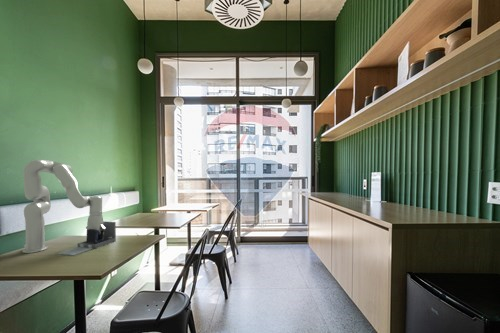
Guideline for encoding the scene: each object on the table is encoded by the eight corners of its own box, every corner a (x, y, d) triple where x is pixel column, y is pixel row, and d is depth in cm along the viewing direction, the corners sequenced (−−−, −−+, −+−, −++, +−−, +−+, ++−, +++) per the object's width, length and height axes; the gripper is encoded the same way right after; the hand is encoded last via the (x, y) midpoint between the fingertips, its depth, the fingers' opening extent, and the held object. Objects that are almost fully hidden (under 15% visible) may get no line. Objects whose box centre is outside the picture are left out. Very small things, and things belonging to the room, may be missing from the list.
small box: (95, 245, 167) (95, 230, 168) (85, 245, 168) (85, 230, 168) (104, 241, 178) (104, 226, 178) (95, 241, 178) (95, 226, 178)
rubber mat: (57, 254, 154) (57, 253, 154) (77, 247, 166) (77, 246, 166) (73, 255, 150) (73, 254, 150) (92, 249, 163) (92, 248, 163)
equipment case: (76, 247, 167) (76, 226, 167) (99, 240, 184) (99, 221, 184) (94, 248, 163) (94, 227, 163) (115, 241, 180) (115, 221, 180)
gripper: (81, 214, 172) (80, 239, 172) (101, 215, 167) (100, 241, 167) (90, 212, 179) (90, 237, 179) (110, 213, 174) (110, 238, 174)
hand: (95, 239), depth 173 cm, fingers closed on small box, 7 cm apart
